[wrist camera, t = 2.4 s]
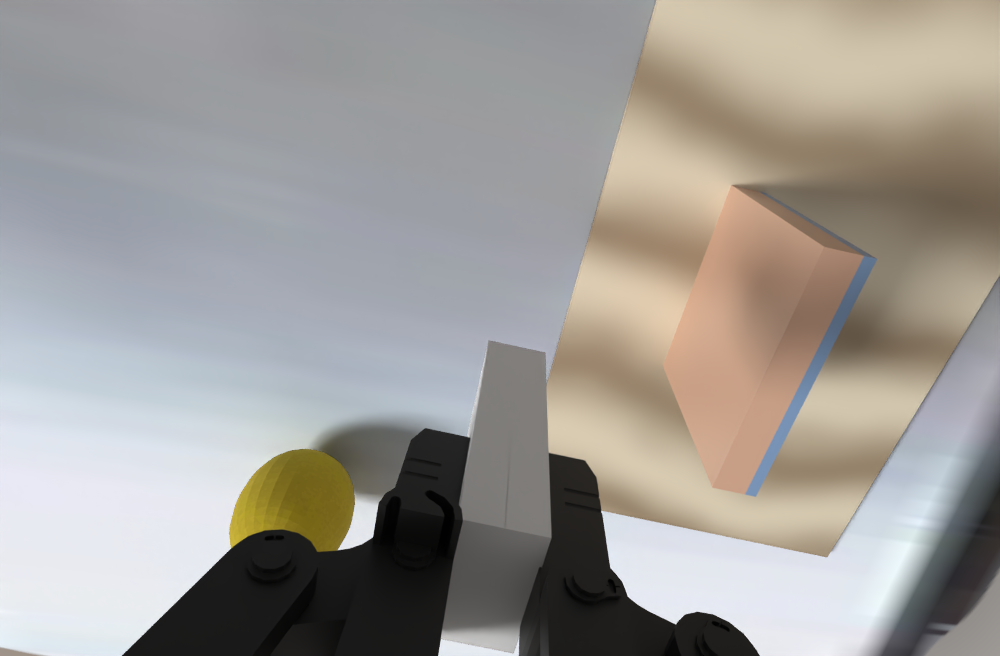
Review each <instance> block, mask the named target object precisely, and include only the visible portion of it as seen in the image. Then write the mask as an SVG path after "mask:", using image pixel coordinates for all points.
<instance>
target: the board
mask: <svg viewBox="0 0 1000 656" xmlns="http://www.w3.org/2000/svg"><path fill="white" fill-rule="evenodd" d="M731 185H733V186H738V187H742V188H746V189H751V190H755V191H759V192H764V193H767V194H769V195H771V196H773V197H774V198H776V199H778V200H779V201H781V202H783V203H784V204H786V205H788V206H789V207H791V208H793V209H794V210H796V211H798V212H799V213H801V214H803V215H804V216H806V217H808V218H809V219H811V220H813V221H814V222H816V223H818V224H820V225H821V226H823V227H825V228H826V229H828V230H830V231H831V232H833V233H835V234H836V235H838V236H840V237H841V238H843V239H845V240H846V241H848V242H850V243H851V244H853V245H855V246H856V247H858V248H860V249H861V250H863V251H865V252H866V253H868V254H870V255H872V256H873V257H875V258H877V261H876V263H875V265H874V267H873V268H872V270H871V272H870V274H869V276H868V278H867V280H866V282H865V284H864V286H863V288H862V290H861V292H860V294H859V296H858V298H857V300H856V302H855V304H854V306H853V308H852V310H851V312H850V314H849V315H848V317H847V319H846V321H845V323H844V325H843V327H842V329H841V331H840V333H839V335H838V337H837V339H836V341H835V343H834V345H833V347H832V349H831V351H830V353H829V355H828V357H827V359H826V361H825V362H824V364H823V366H822V368H821V370H820V372H819V374H818V376H817V378H816V380H815V382H814V384H813V386H812V388H811V390H810V392H809V394H808V396H807V398H806V400H805V402H804V404H803V406H802V407H801V409H800V411H799V413H798V415H797V417H796V419H795V421H794V423H793V425H792V427H791V429H790V431H789V433H788V435H787V437H786V439H785V441H784V443H783V445H782V447H781V449H780V451H779V453H778V454H777V456H776V458H775V460H774V462H773V464H772V466H771V468H770V470H769V472H768V474H767V476H766V478H765V480H764V482H763V484H762V486H761V488H760V490H759V492H758V494H757V496H756V497H754V496H750V495H745V494H740V493H735V492H731V491H726V490H721V489H716V488H712V486H711V483H710V481H709V478H708V476H707V474H706V471H705V469H704V466H703V464H702V461H701V459H700V456H699V454H698V451H697V449H696V446H695V444H694V442H693V439H692V437H691V434H690V432H689V429H688V427H687V424H686V422H685V419H684V417H683V414H682V412H681V409H680V407H679V405H678V402H677V400H676V397H675V395H674V392H673V390H672V387H671V385H670V382H669V380H668V377H667V375H666V373H665V370H664V368H663V364H664V361H665V359H666V356H667V354H668V351H669V348H670V346H671V343H672V340H673V338H674V335H675V332H676V330H677V327H678V324H679V322H680V319H681V316H682V314H683V311H684V309H685V306H686V303H687V301H688V298H689V295H690V293H691V290H692V287H693V285H694V282H695V279H696V277H697V274H698V271H699V269H700V266H701V264H702V261H703V258H704V256H705V253H706V250H707V248H708V245H709V242H710V240H711V237H712V234H713V232H714V229H715V226H716V224H717V221H718V219H719V216H720V213H721V211H722V208H723V205H724V203H725V200H726V197H727V195H728V192H729V189H730V187H731ZM999 275H1000V0H656V3H655V7H654V10H653V14H652V17H651V21H650V24H649V28H648V31H647V35H646V38H645V42H644V45H643V49H642V52H641V56H640V59H639V63H638V66H637V70H636V73H635V77H634V80H633V84H632V87H631V91H630V94H629V98H628V101H627V105H626V108H625V112H624V115H623V119H622V122H621V126H620V129H619V133H618V136H617V140H616V143H615V147H614V150H613V154H612V157H611V161H610V164H609V168H608V171H607V175H606V178H605V182H604V185H603V189H602V192H601V196H600V199H599V203H598V206H597V210H596V213H595V217H594V220H593V224H592V227H591V231H590V234H589V238H588V241H587V245H586V248H585V252H584V255H583V259H582V262H581V266H580V269H579V273H578V276H577V280H576V283H575V287H574V290H573V294H572V297H571V301H570V304H569V308H568V311H567V315H566V318H565V322H564V325H563V329H562V332H561V336H560V339H559V343H558V346H557V350H556V353H555V357H554V360H553V364H552V367H551V371H550V374H549V378H548V381H547V385H546V388H547V418H548V448H549V453H553V454H557V455H562V456H567V457H572V458H576V459H581V460H585V461H586V462H587V464H588V465H589V467H590V468H591V470H592V471H593V473H594V474H595V476H596V477H597V483H598V490H599V498H600V503H601V511H606V512H611V513H616V514H621V515H625V516H630V517H635V518H640V519H645V520H650V521H654V522H659V523H664V524H669V525H674V526H679V527H683V528H688V529H693V530H698V531H703V532H708V533H712V534H717V535H722V536H727V537H732V538H736V539H741V540H746V541H751V542H756V543H761V544H765V545H770V546H775V547H780V548H785V549H790V550H794V551H799V552H804V553H809V554H814V555H819V556H823V557H828V555H829V553H830V552H831V550H832V549H833V547H834V545H835V544H836V542H837V540H838V539H839V537H840V535H841V534H842V532H843V531H844V529H845V527H846V526H847V524H848V522H849V521H850V519H851V517H852V516H853V514H854V513H855V511H856V509H857V508H858V506H859V504H860V503H861V501H862V500H863V498H864V496H865V495H866V493H867V491H868V490H869V488H870V486H871V485H872V483H873V482H874V480H875V478H876V477H877V475H878V473H879V472H880V470H881V468H882V467H883V465H884V464H885V462H886V460H887V459H888V457H889V455H890V454H891V452H892V450H893V449H894V447H895V446H896V444H897V442H898V441H899V439H900V437H901V436H902V434H903V432H904V431H905V429H906V428H907V426H908V424H909V423H910V421H911V419H912V418H913V416H914V414H915V413H916V411H917V410H918V408H919V406H920V405H921V403H922V401H923V400H924V398H925V396H926V395H927V393H928V392H929V390H930V388H931V387H932V385H933V383H934V382H935V380H936V378H937V377H938V375H939V374H940V372H941V370H942V369H943V367H944V365H945V364H946V362H947V361H948V359H949V357H950V356H951V354H952V352H953V351H954V349H955V347H956V346H957V344H958V343H959V341H960V339H961V338H962V336H963V334H964V333H965V331H966V329H967V328H968V326H969V325H970V323H971V321H972V320H973V318H974V316H975V315H976V313H977V311H978V310H979V308H980V307H981V305H982V303H983V302H984V300H985V298H986V297H987V295H988V293H989V292H990V290H991V289H992V287H993V285H994V284H995V282H996V280H997V279H998V277H999Z"/></svg>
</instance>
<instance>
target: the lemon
mask: <svg viewBox="0 0 1000 656" xmlns="http://www.w3.org/2000/svg"><path fill="white" fill-rule="evenodd" d="M354 505H355V497H354V490H353V484H352V482H351V479H350V477H349V475H348V473H347V471H346V470H345V469H344V467H343V466H342V465H341V464H340V463H339V462H338V461H337V460H336V459H334V458H333V457H332V456H330V455H328V454H326V453H324V452H320V451H317V450H311V449H299V450H292V451H288V452H285V453H283V454H280V455H278V456H276V457H274V458H272V459H271V460H270V461H268V462H267V463H266V464H264V465H263V466H262V467H261V468H260V469H258V470H257V471H256V472H255V474H254V475H253V476H252V477H251V479H250V480H249V482H248V483H247V484H246V486H245V487H244V489H243V490H242V492H241V494H240V496H239V498H238V500H237V503H236V505H235V509H234V512H233V516H232V520H231V524H230V532H229V535H230V545H231V548H232V547H233V546H234V545H236V544H237V543H239V542H240V541H242V540H243V539H244V538H246V537H247V536H249V535H252V534H255V533H258V532H261V531H264V530H279V529H284V530H288V531H292V532H296V533H299V534H301V535H302V536H304V537H305V538H307V539H309V540H310V541H311V542H312V544H313V545H314V547H315V549H316V550H317V552H323V551H337V550H338V548H339V547H340V545H341V543H342V541H343V540H344V538H345V536H346V534H347V532H348V530H349V528H350V525H351V521H352V516H353V511H354Z"/></svg>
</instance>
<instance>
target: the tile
mask: <svg viewBox="0 0 1000 656" xmlns="http://www.w3.org/2000/svg"><path fill="white" fill-rule="evenodd" d="M876 261H877V258H875V257H873V256H872V255H870V254H868V253H866V252H865V251H863V250H861V249H860V248H858V247H856V246H855V245H853V244H851V243H850V242H848V241H846V240H845V239H843V238H841V237H840V236H838V235H836V234H835V233H833V232H831V231H830V230H828V229H826V228H825V227H823V226H821V225H820V224H818V223H816V222H814V221H813V220H811V219H809V218H808V217H806V216H804V215H803V214H801V213H799V212H798V211H796V210H794V209H793V208H791V207H789V206H788V205H786V204H784V203H783V202H781V201H779V200H778V199H776V198H774V197H773V196H771V195H769V194H767V193H764V192H759V191H755V190H751V189H746V188H742V187H738V186H733V185H731V187H730V189H729V192H728V195H727V197H726V200H725V203H724V205H723V208H722V211H721V213H720V216H719V219H718V221H717V224H716V226H715V229H714V232H713V234H712V237H711V240H710V242H709V245H708V248H707V250H706V253H705V256H704V258H703V261H702V264H701V266H700V269H699V271H698V274H697V277H696V279H695V282H694V285H693V287H692V290H691V293H690V295H689V298H688V301H687V303H686V306H685V309H684V311H683V314H682V316H681V319H680V322H679V324H678V327H677V330H676V332H675V335H674V338H673V340H672V343H671V346H670V348H669V351H668V354H667V356H666V359H665V361H664V364H663V368H664V370H665V373H666V375H667V377H668V380H669V382H670V385H671V387H672V390H673V392H674V395H675V397H676V400H677V402H678V405H679V407H680V409H681V412H682V414H683V417H684V419H685V422H686V424H687V427H688V429H689V432H690V434H691V437H692V439H693V442H694V444H695V446H696V449H697V451H698V454H699V456H700V459H701V461H702V464H703V466H704V469H705V471H706V474H707V476H708V478H709V481H710V483H711V486H712V488H716V489H721V490H726V491H731V492H735V493H740V494H745V495H750V496H754V497H756V496H757V494H758V492H759V490H760V488H761V486H762V484H763V482H764V480H765V478H766V476H767V474H768V472H769V470H770V468H771V466H772V464H773V462H774V460H775V458H776V456H777V454H778V453H779V451H780V449H781V447H782V445H783V443H784V441H785V439H786V437H787V435H788V433H789V431H790V429H791V427H792V425H793V423H794V421H795V419H796V417H797V415H798V413H799V411H800V409H801V407H802V406H803V404H804V402H805V400H806V398H807V396H808V394H809V392H810V390H811V388H812V386H813V384H814V382H815V380H816V378H817V376H818V374H819V372H820V370H821V368H822V366H823V364H824V362H825V361H826V359H827V357H828V355H829V353H830V351H831V349H832V347H833V345H834V343H835V341H836V339H837V337H838V335H839V333H840V331H841V329H842V327H843V325H844V323H845V321H846V319H847V317H848V315H849V314H850V312H851V310H852V308H853V306H854V304H855V302H856V300H857V298H858V296H859V294H860V292H861V290H862V288H863V286H864V284H865V282H866V280H867V278H868V276H869V274H870V272H871V270H872V268H873V267H874V265H875V263H876Z"/></svg>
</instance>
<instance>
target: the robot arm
mask: <svg viewBox="0 0 1000 656" xmlns="http://www.w3.org/2000/svg"><path fill="white" fill-rule="evenodd" d="M519 636H520V637H519ZM441 639H443V640H448V641H453V642H458V643H463V644H468V645H473V646H479V647H484V648H489V649H494V650H499V651H504V652H509V653H514V651H515V648H516V645H517V642H518V639H519V656H760V655H759V654H758V652H757V651H756V649H755V648H754V646H753V645H752V644H751V643H750V641H749V640H748V639H747V637H746V636H745V635H744V634H743V633H742V632H741V631H739V630H738V629H737V628H736V627H734V626H733V625H732V624H731V623H729V622H728V621H725V620H723V619H721V618H719V617H717V616H715V615H713V614H707V613H701V612H695V613H690V614H686V615H684V616H683V617H682V618H681V619H680V620H679V621H678V622H677V624H676V625H675V624H673V623H671V622H669V621H667V620H665V619H663V618H661V617H659V616H657V615H655V614H653V613H651V612H649V611H647V610H645V609H644V608H642V607H640V606H639V605H637V604H636V603H635V602H633V601H632V600H631V599H630V598H629V597H627V593H626V591H625V588H624V586H623V583H622V581H621V580H620V579H619V578H618V576H617V575H616V574H615V573H614V572H613V570H612V569H610V564H609V557H608V550H607V544H606V537H605V530H604V523H603V517H602V513H601V503H600V498H599V490H598V483H597V477H596V476H595V474H594V473H593V471H592V470H591V468H590V467H589V465H588V464H587V462H586V461H585V460H581V459H576V458H572V457H567V456H562V455H557V454H553V453H549V448H548V418H547V388H546V359H545V352H540V351H535V350H531V349H526V348H522V347H517V346H512V345H508V344H503V343H498V342H494V341H488V346H487V350H486V354H485V359H484V363H483V368H482V372H481V376H480V381H479V385H478V390H477V394H476V398H475V403H474V407H473V411H472V416H471V420H470V425H469V429H468V435H467V437H464V436H460V435H455V434H450V433H445V432H441V431H436V430H431V429H426V428H425V429H424V430H423V431H421V432H420V433H419V434H418V435H417V436H415V437H414V438H413V439H412V440H411V442H410V445H409V448H408V451H407V454H406V457H405V460H404V463H403V466H402V469H401V473H400V475H399V478H398V481H397V484H396V487H395V488H394V489H392V490H391V491H389V492H387V493H386V494H385V495H384V497H383V498H382V500H381V501H380V502H379V505H378V511H377V517H376V523H375V529H374V536H373V538H372V539H370V540H368V541H367V542H365V543H364V544H362V545H359V546H356V547H353V548H350V549H344V550H338V551H323V552H317V550H316V549H315V547H314V545H313V544H312V542H311V541H310V540H309V539H307V538H305V537H304V536H302V535H301V534H299V533H296V532H292V531H288V530H284V529H279V530H264V531H261V532H258V533H255V534H252V535H249V536H247V537H246V538H244V539H243V540H242V541H240V542H239V543H237V544H236V545H234V546H233V547H232V548H231V549H230V550H229V551H228V552H227V553H226V554H225V555H224V556H223V557H222V558H221V559H220V560H219V561H218V562H217V563H216V564H215V565H214V566H213V567H212V568H211V569H210V570H209V571H208V572H207V573H206V574H205V575H204V576H203V577H202V578H201V579H200V580H199V581H198V582H197V583H196V584H195V585H194V586H193V587H192V588H191V589H189V590H188V591H187V592H186V593H185V594H184V595H183V596H182V597H181V598H180V599H179V600H178V601H177V602H176V603H175V604H174V605H173V606H172V607H171V608H170V609H169V610H168V611H167V612H166V613H165V614H164V615H163V616H162V617H161V618H160V619H159V620H158V621H157V622H156V623H155V624H154V625H153V626H152V627H151V628H150V629H149V630H148V631H147V632H146V633H145V634H144V635H143V636H142V637H141V638H140V639H139V640H138V641H137V642H136V643H134V644H133V645H132V646H131V647H130V648H129V649H128V650H127V651H126V652H125V653H124V654H123V655H122V656H438V653H439V647H440V640H441Z"/></svg>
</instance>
